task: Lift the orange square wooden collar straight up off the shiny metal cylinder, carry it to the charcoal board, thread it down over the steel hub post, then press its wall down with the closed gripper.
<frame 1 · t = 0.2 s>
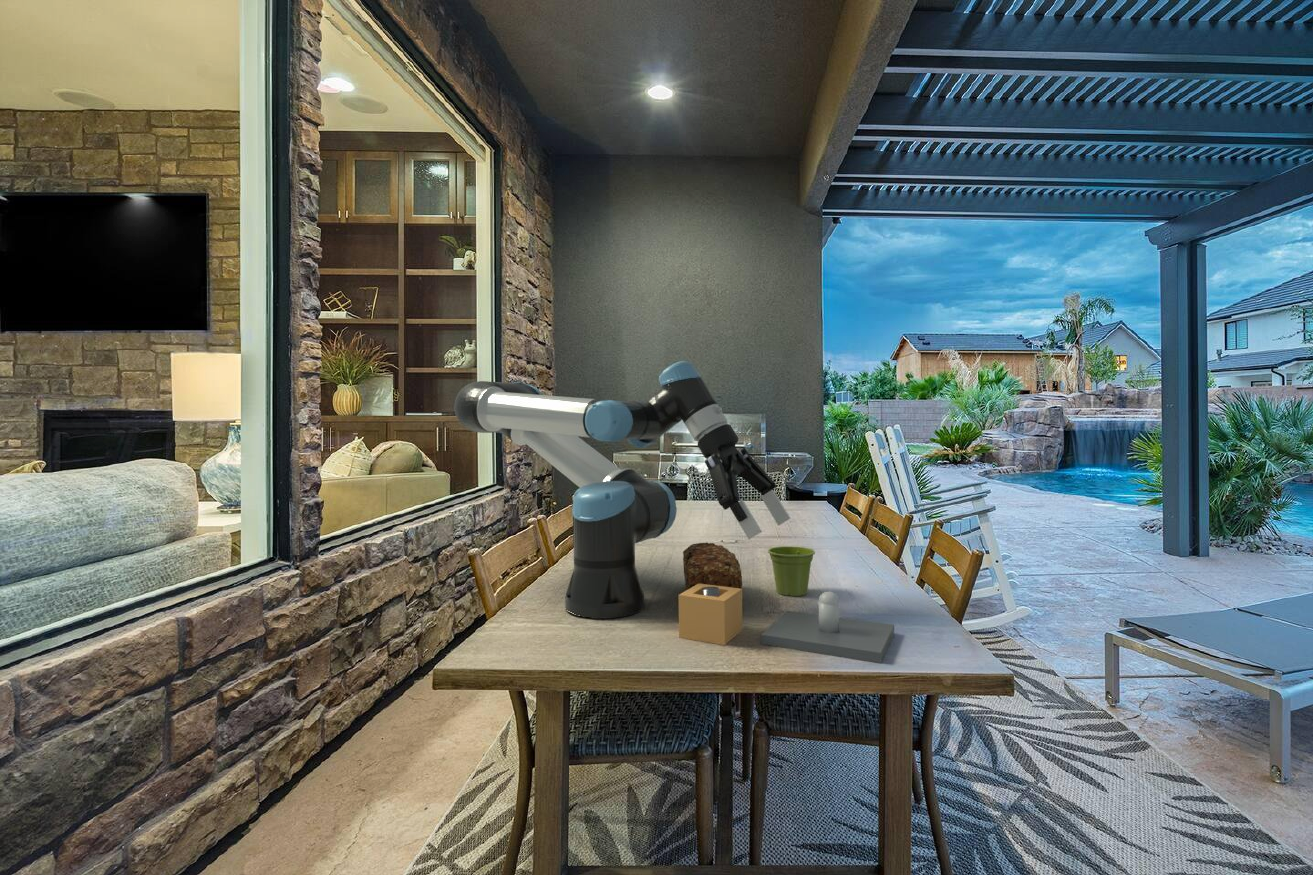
hand: (770, 528, 118), 15 cm above the table, tool tilted 35°, fingers open, 13 cm apart
bread: (711, 600, 126), on the table
shiny metal cylinder: (711, 633, 106), on the table
collar: (711, 633, 106), on the table
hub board: (829, 638, 103), on the table
plant pot: (791, 593, 130), on the table
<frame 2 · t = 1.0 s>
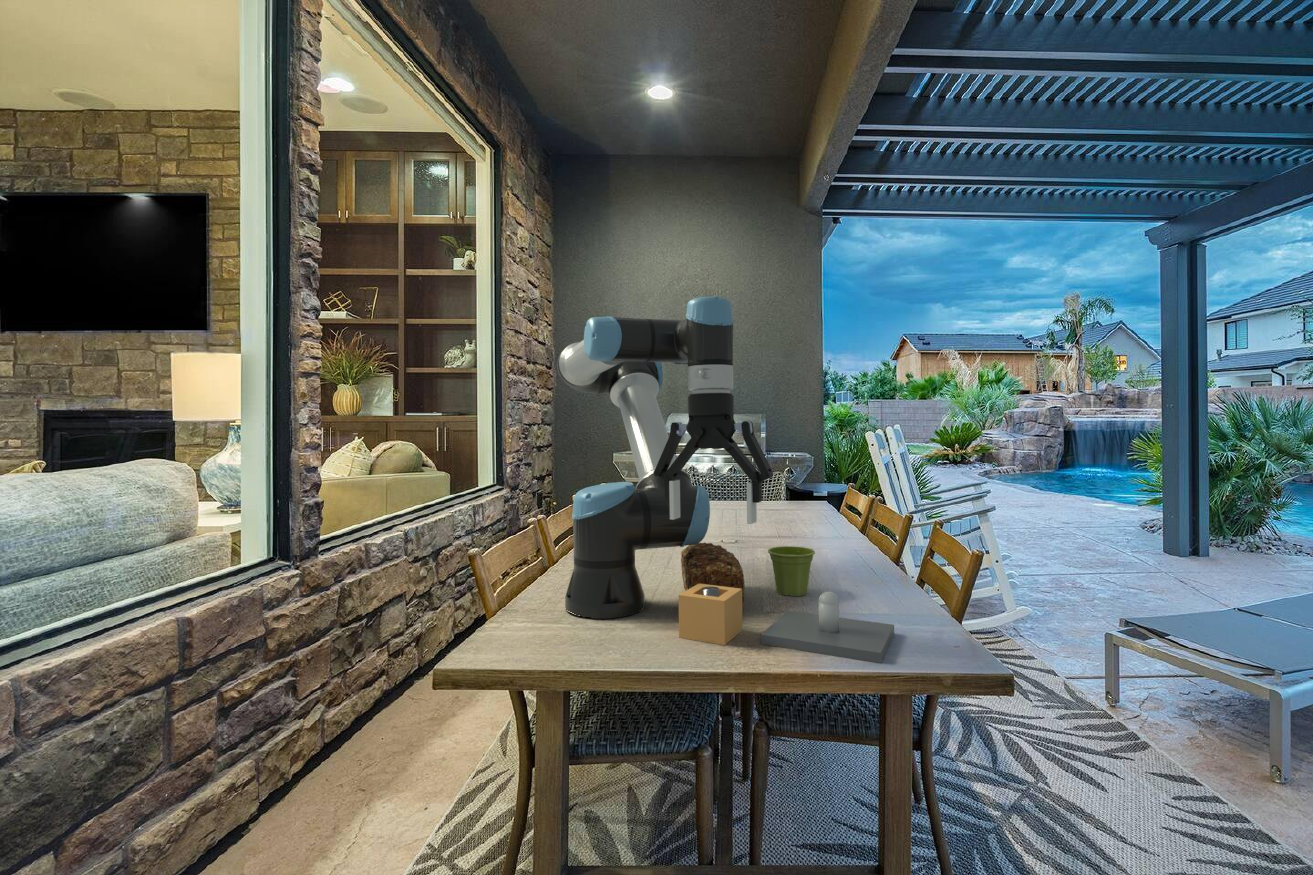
hand: (712, 520, 106), 19 cm above the table, tool pointing down, fingers open, 13 cm apart
nothing on the table moved.
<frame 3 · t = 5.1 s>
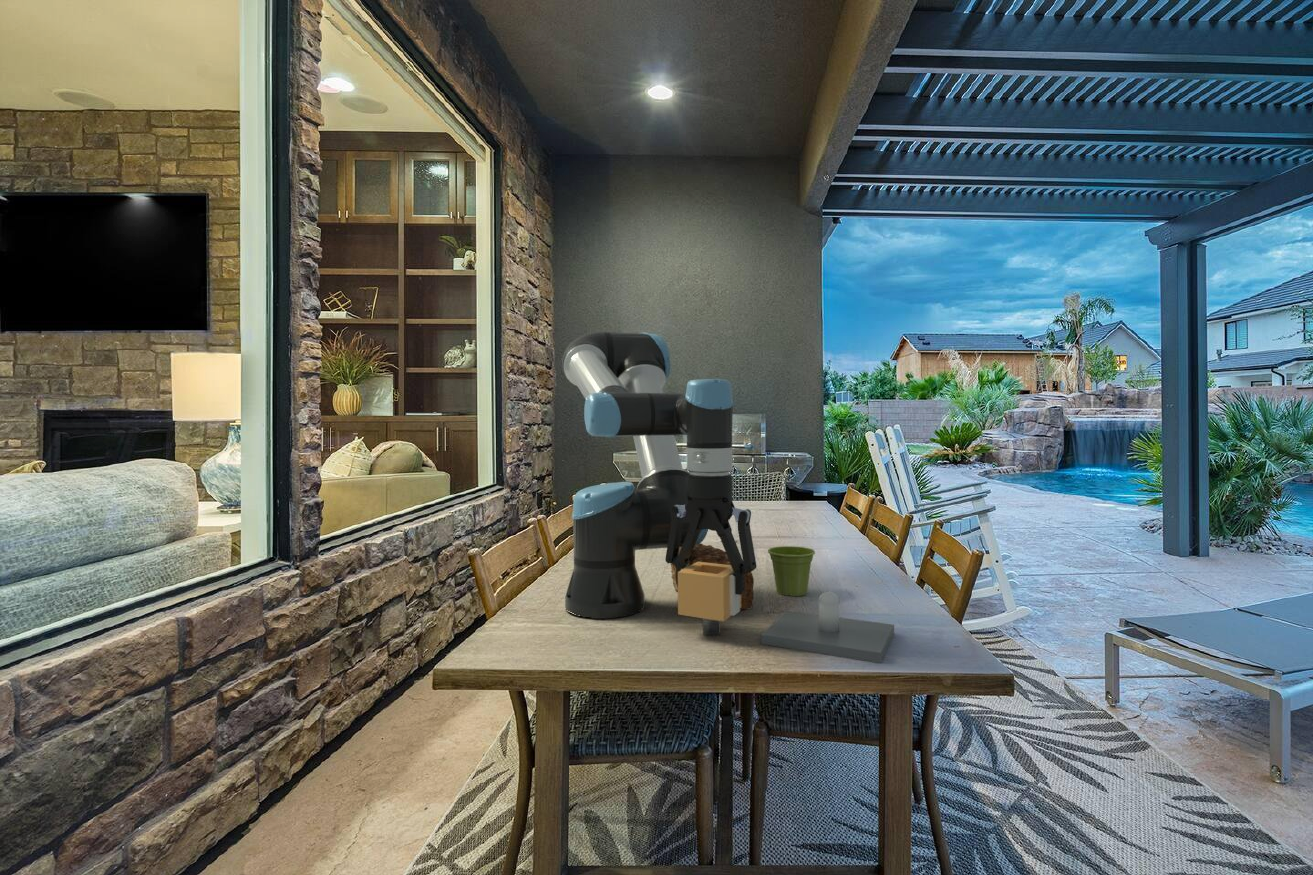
hand: (710, 609, 106), 4 cm above the table, tool pointing down, fingers closed on collar, 8 cm apart
collar: (710, 610, 106), point 4 cm above the table, touching gripper
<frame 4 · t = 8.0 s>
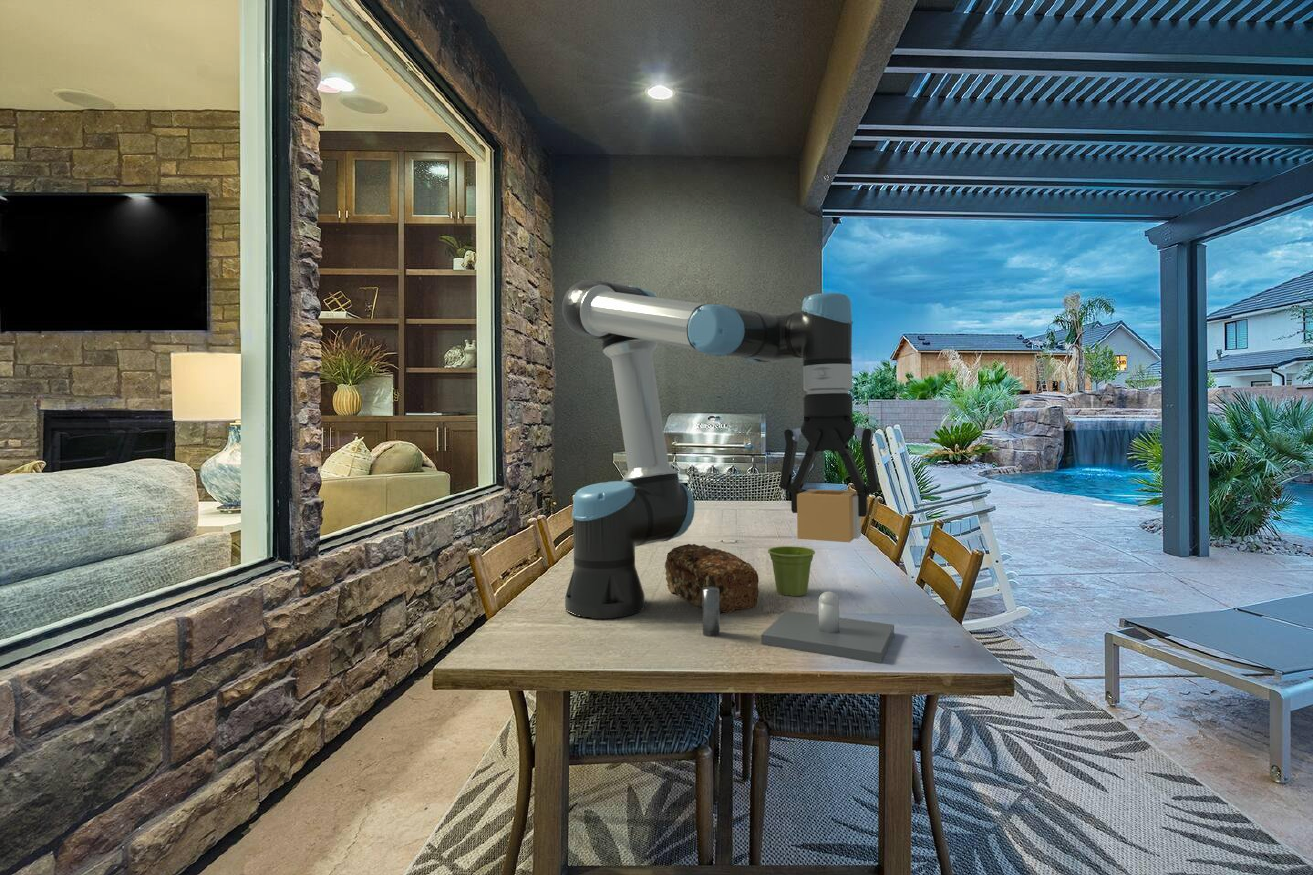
hand: (828, 534, 102), 17 cm above the table, tool pointing down, fingers closed on collar, 8 cm apart
collar: (829, 536, 102), point 17 cm above the table, touching gripper
when the fingers open (3 cm above the table, at t = 11.3 s): collar stays where it is, resting on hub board.
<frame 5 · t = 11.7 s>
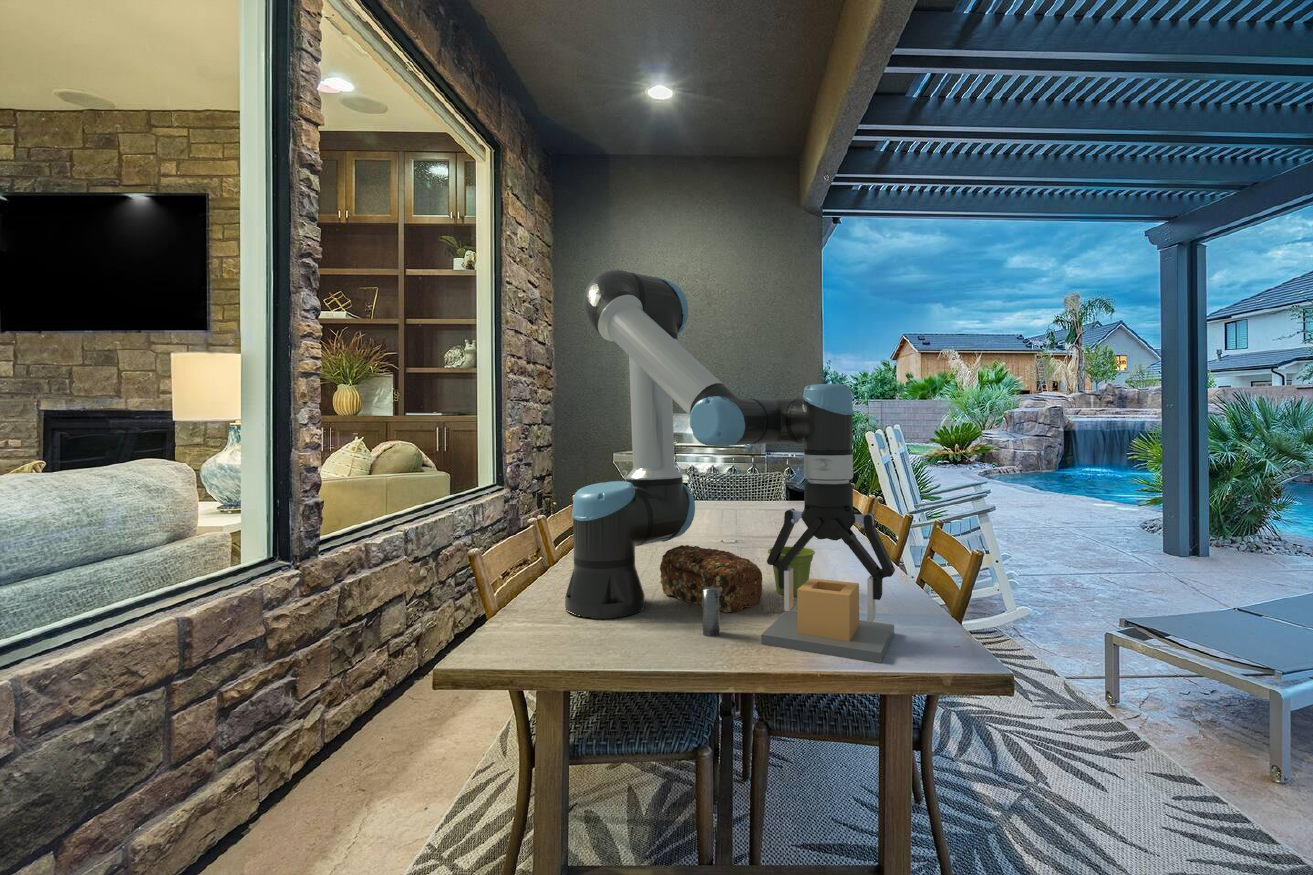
hand: (828, 613, 102), 4 cm above the table, tool pointing down, fingers open, 12 cm apart
collar: (828, 629, 103), point 1 cm above the table, touching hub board
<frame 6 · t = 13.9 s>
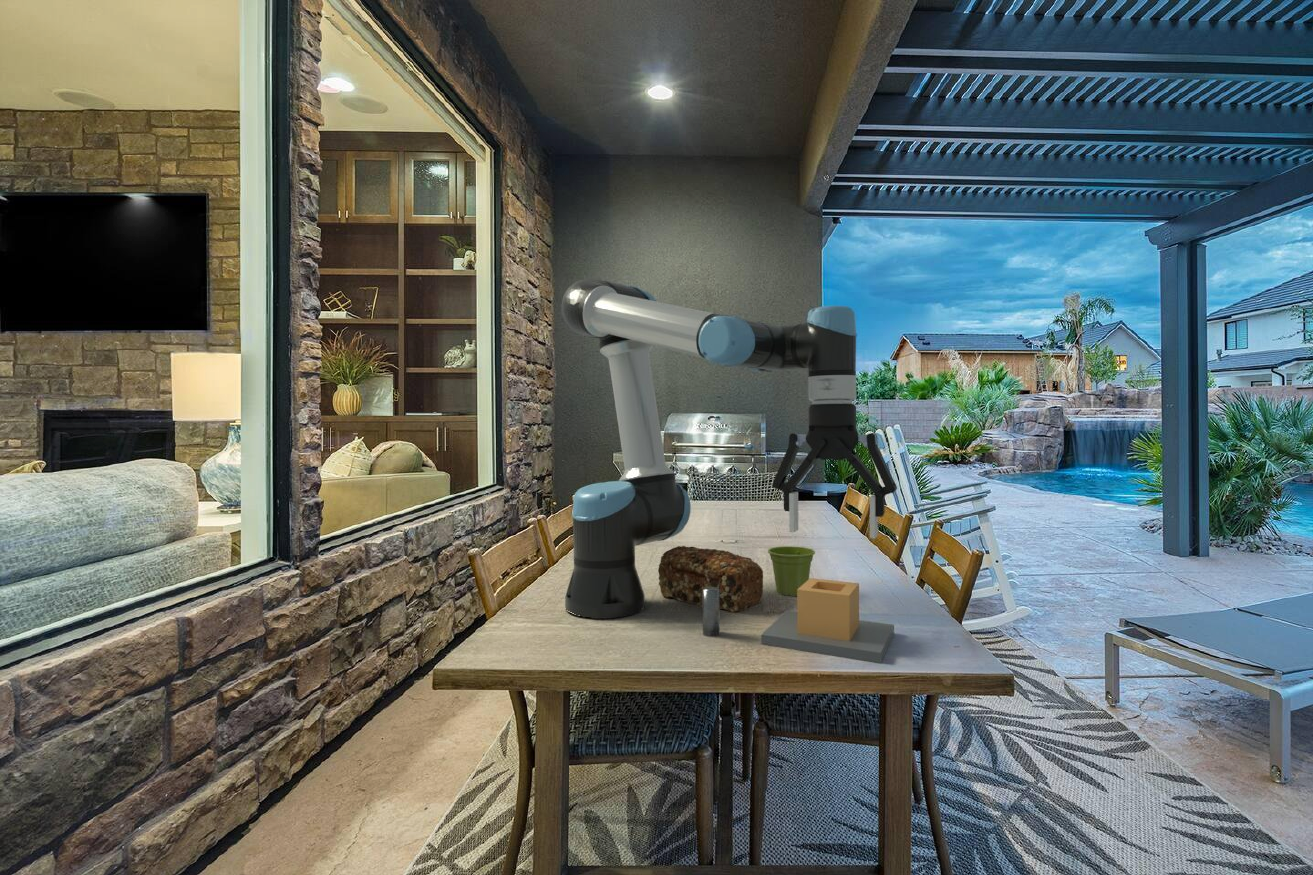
hand: (832, 533, 105), 16 cm above the table, tool pointing down, fingers open, 12 cm apart
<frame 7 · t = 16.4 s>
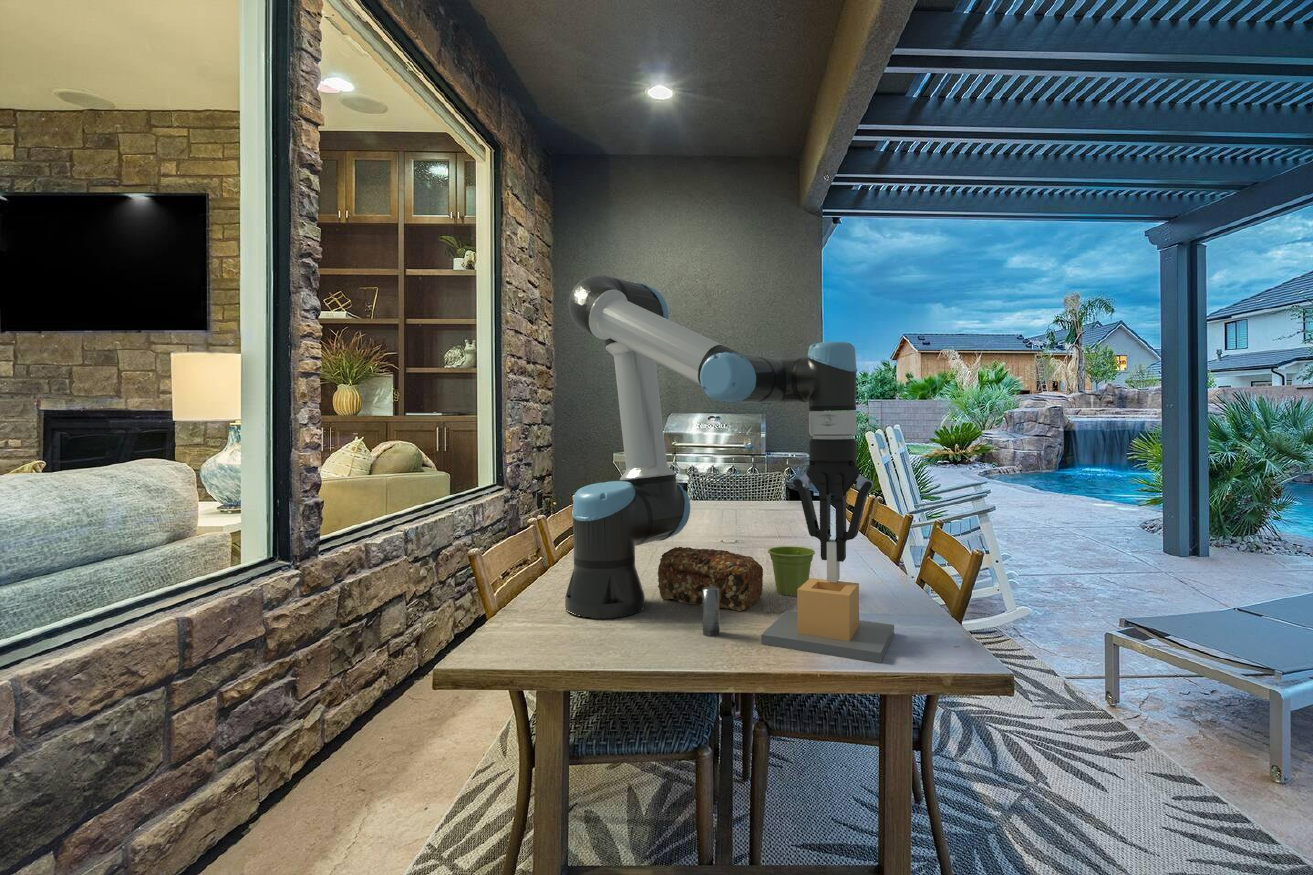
hand: (833, 580, 105), 9 cm above the table, tool pointing down, fingers closed
collar: (828, 629, 103), point 1 cm above the table, touching gripper, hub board
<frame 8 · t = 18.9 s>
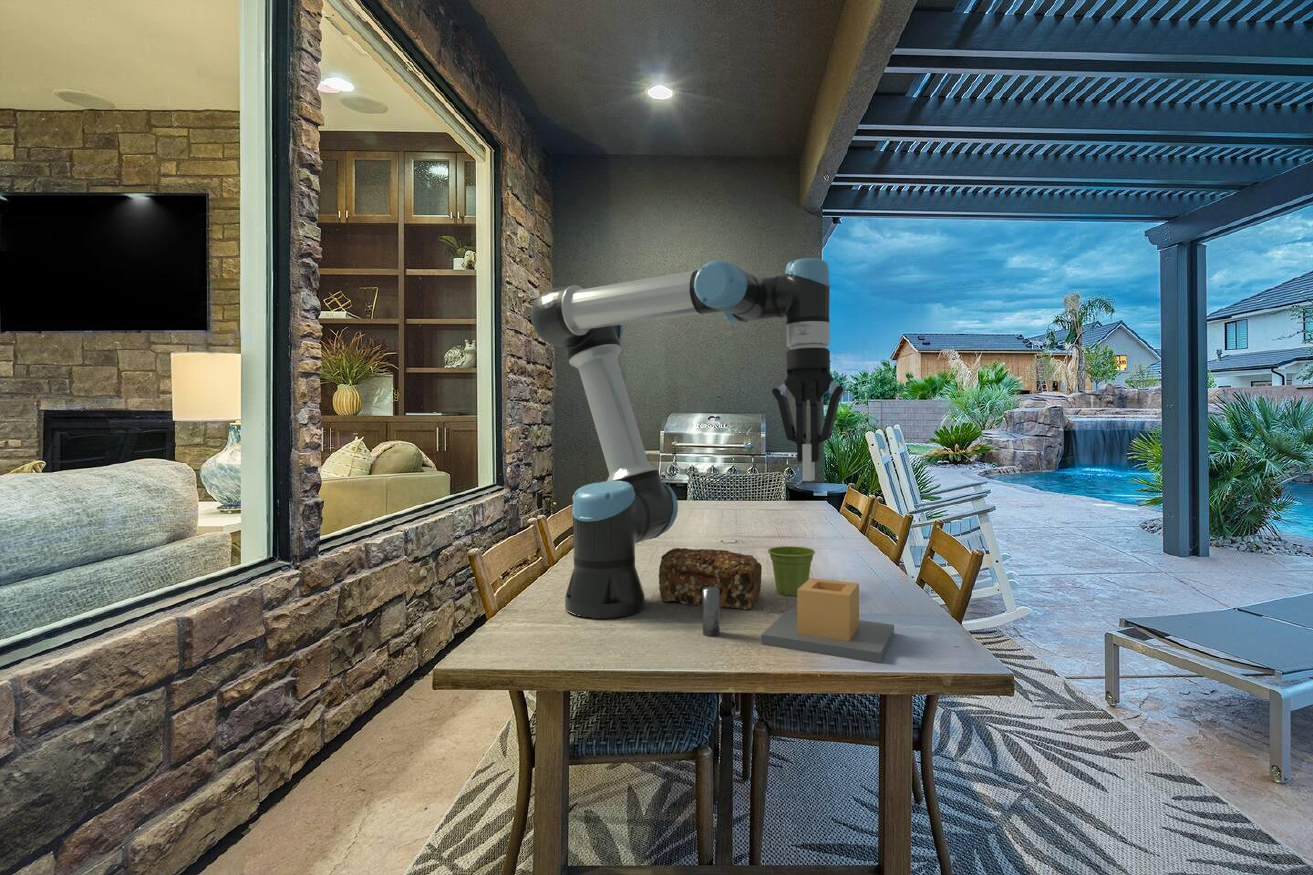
hand: (808, 480, 114), 24 cm above the table, tool pointing down, fingers closed
collar: (828, 629, 103), point 1 cm above the table, touching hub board
at the end: collar 0.0 cm off-centre on the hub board, point 1.5 cm above the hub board's base; collar tilted 0°; the gripper is holding nothing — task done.
